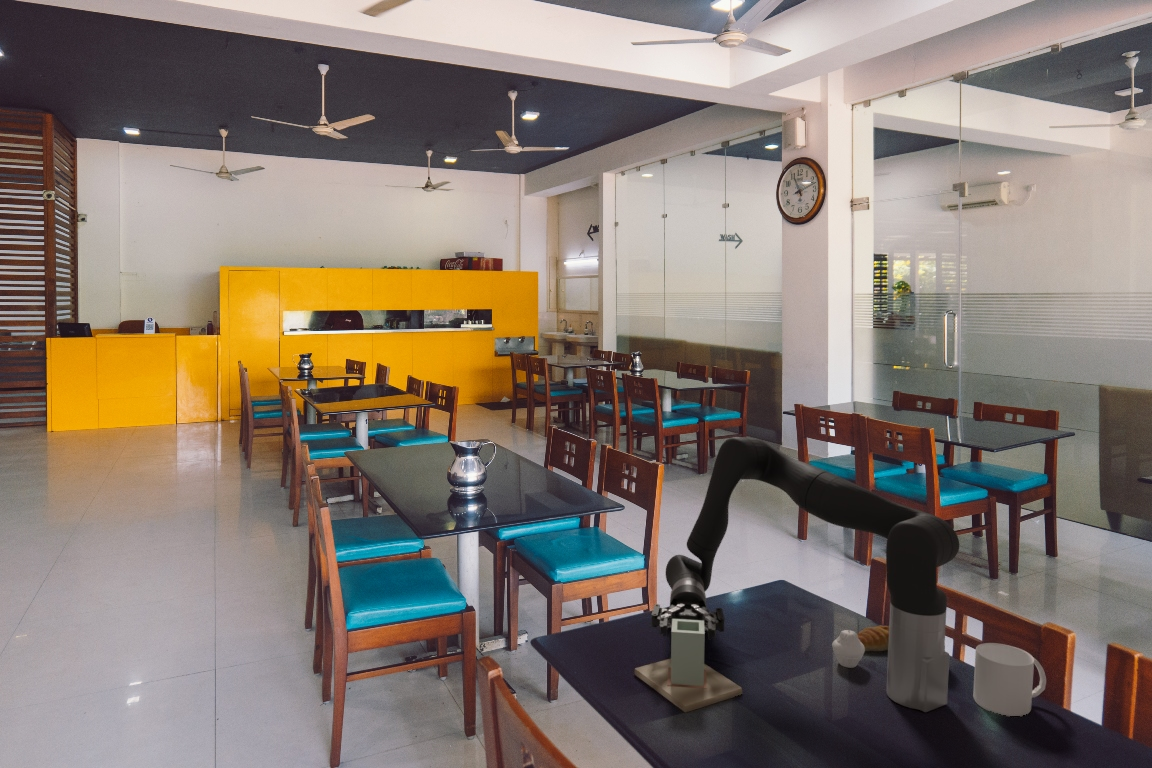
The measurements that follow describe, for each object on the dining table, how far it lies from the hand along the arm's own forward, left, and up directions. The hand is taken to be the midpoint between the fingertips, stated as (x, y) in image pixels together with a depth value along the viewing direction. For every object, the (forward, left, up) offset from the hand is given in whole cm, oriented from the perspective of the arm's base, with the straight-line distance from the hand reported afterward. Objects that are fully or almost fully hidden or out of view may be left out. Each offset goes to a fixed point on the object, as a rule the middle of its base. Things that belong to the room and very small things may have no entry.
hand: (687, 633), depth 145 cm
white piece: (-11, -31, -9) cm, 34 cm away
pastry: (-8, -43, -9) cm, 45 cm away
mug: (-36, -44, -9) cm, 58 cm away
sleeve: (-2, +2, -7) cm, 8 cm away
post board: (-2, +2, -9) cm, 9 cm away
